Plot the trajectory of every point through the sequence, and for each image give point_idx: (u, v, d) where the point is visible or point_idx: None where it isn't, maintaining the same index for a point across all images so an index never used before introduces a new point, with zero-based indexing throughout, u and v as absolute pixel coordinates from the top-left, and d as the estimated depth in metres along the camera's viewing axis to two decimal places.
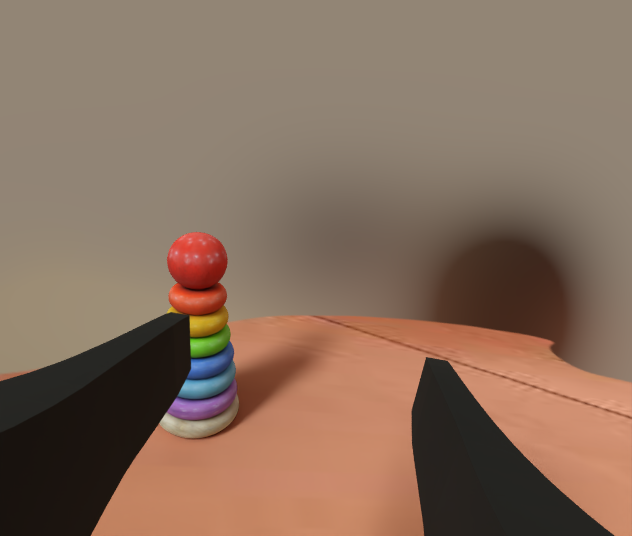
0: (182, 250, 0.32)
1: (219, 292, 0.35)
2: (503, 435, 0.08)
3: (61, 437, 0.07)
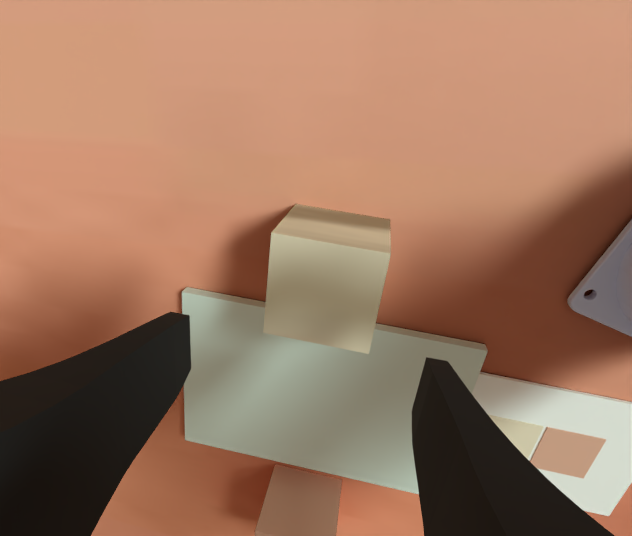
0: None
1: None
2: (503, 435, 0.08)
3: (61, 437, 0.07)
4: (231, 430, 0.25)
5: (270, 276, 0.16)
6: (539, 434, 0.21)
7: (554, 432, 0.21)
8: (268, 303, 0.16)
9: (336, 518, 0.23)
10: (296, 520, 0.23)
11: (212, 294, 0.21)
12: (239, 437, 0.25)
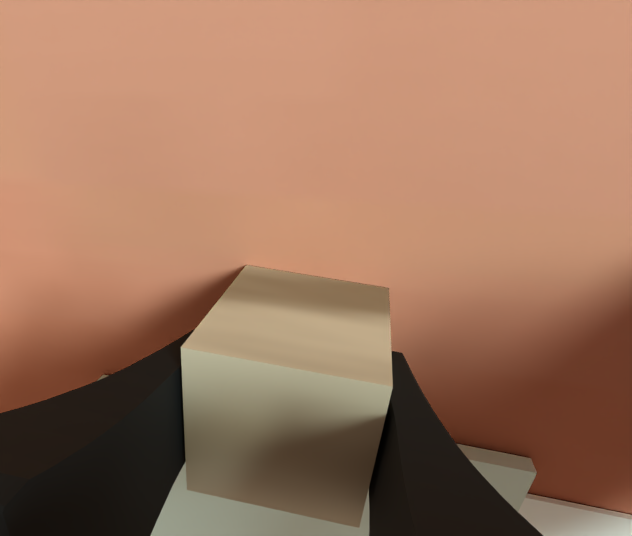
0: None
1: None
2: (439, 423, 0.08)
3: (126, 451, 0.07)
4: None
5: (188, 412, 0.09)
6: None
7: None
8: (190, 450, 0.10)
9: None
10: None
11: None
12: None
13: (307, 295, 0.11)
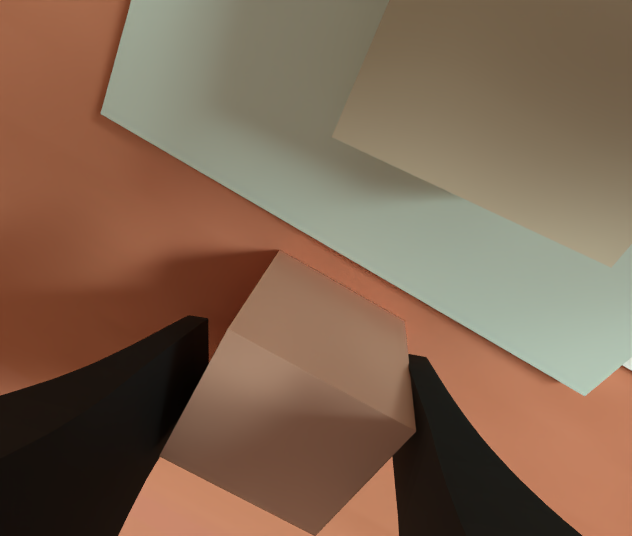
0: None
1: None
2: (473, 429, 0.08)
3: (90, 443, 0.07)
4: (227, 113, 0.10)
5: None
6: None
7: None
8: (386, 32, 0.05)
9: (407, 374, 0.10)
10: (325, 346, 0.09)
11: None
12: (239, 139, 0.10)
13: None
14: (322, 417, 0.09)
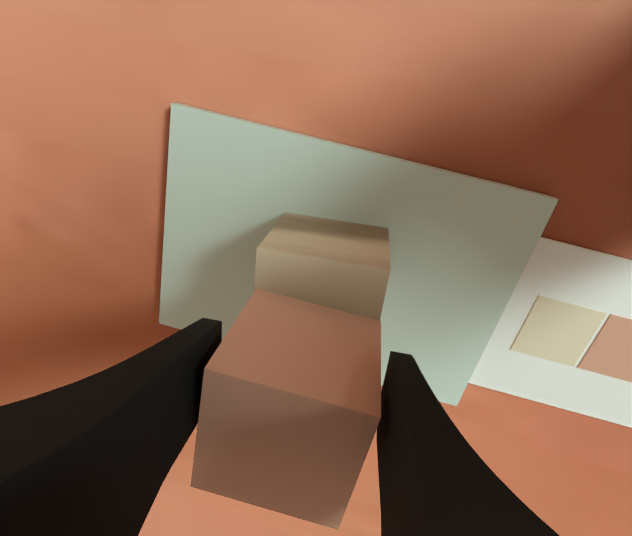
0: None
1: None
2: (453, 425, 0.08)
3: (112, 448, 0.07)
4: (218, 310, 0.20)
5: None
6: (599, 324, 0.18)
7: (619, 322, 0.17)
8: None
9: (378, 369, 0.11)
10: (295, 363, 0.11)
11: (210, 111, 0.16)
12: (227, 320, 0.20)
13: (331, 229, 0.16)
14: (302, 423, 0.10)
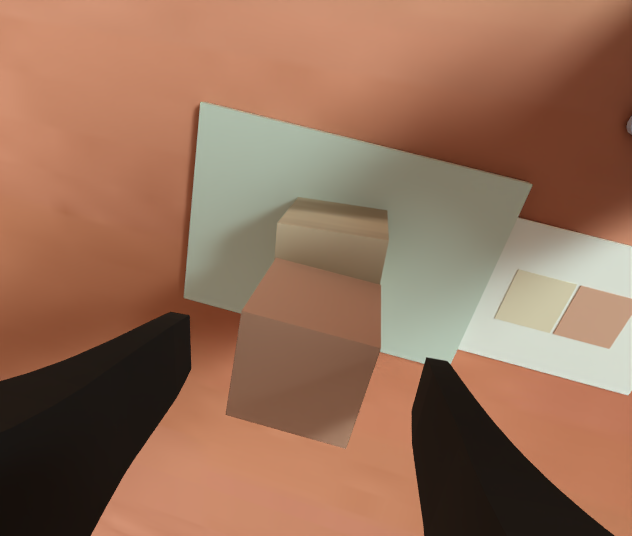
0: None
1: None
2: (503, 435, 0.08)
3: (61, 437, 0.07)
4: (237, 285, 0.23)
5: None
6: (571, 294, 0.20)
7: (587, 292, 0.20)
8: None
9: (378, 317, 0.14)
10: (312, 310, 0.13)
11: (234, 109, 0.19)
12: (245, 294, 0.23)
13: (338, 210, 0.19)
14: (318, 355, 0.13)
